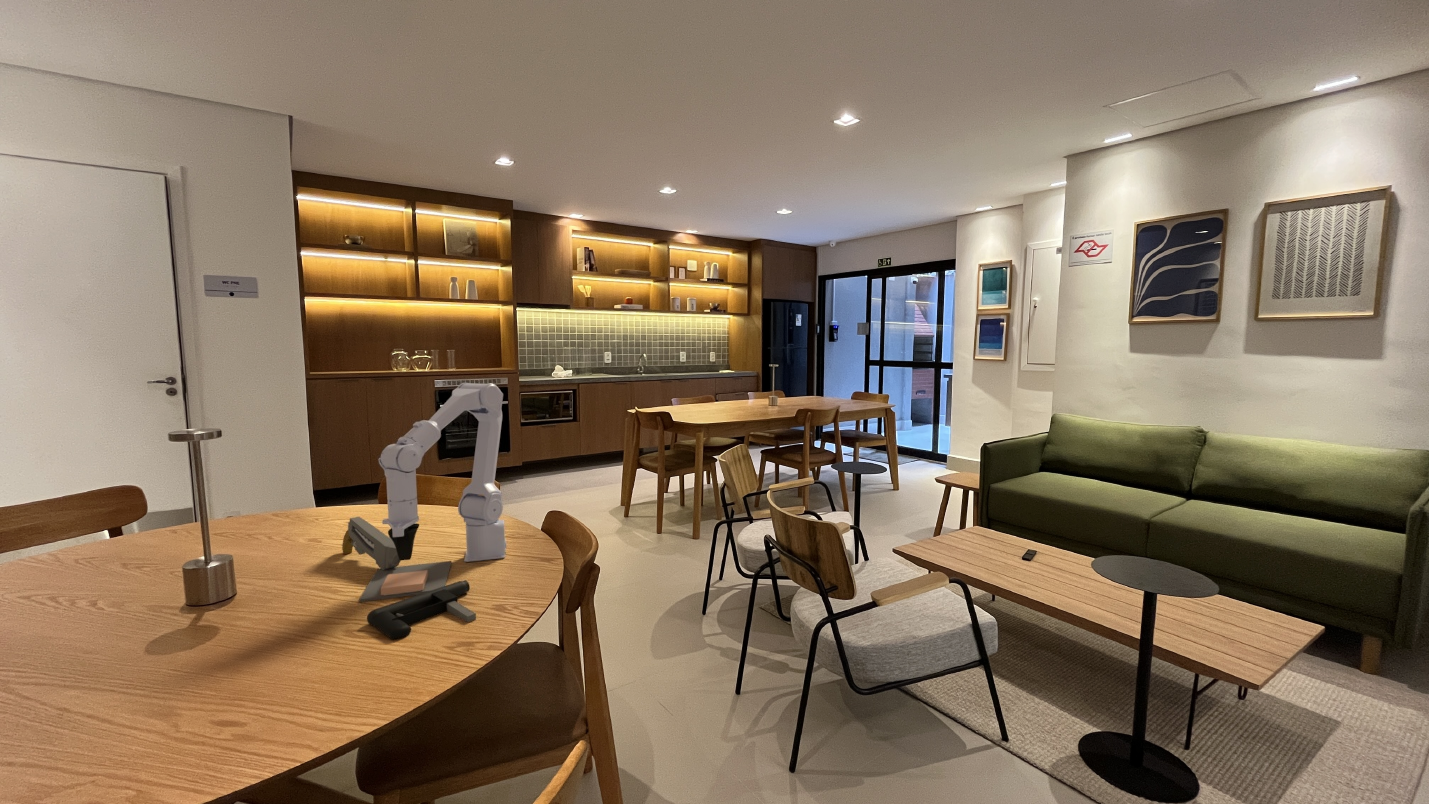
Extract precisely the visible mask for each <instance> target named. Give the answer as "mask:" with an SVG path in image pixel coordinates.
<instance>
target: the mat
mask: <svg viewBox="0 0 1429 804" xmlns="http://www.w3.org/2000/svg"><path fill="white" fill-rule="evenodd" d="M451 566H452V560H447V561H445V560H444V561H437V562H428V563H420V564H413V565H412V564H409V565H408V564H407V565H401V566H400V565H398V566H397V567H393V568H390V569H386V570H381V568H377V569H376V571H375V573H374V574H373V576H372V578H371V579H370V581H369V582H368V585H367V586H366V587H365V589H364V591H363V592H362V594H361V596H360V597H359V600H358V601H359V603H365V602H373V601H380V600H387V599H388V600H389V599H395V598H404V597H413V596H416V595H419V594H422V593H425V592H428V591H431V590H434V589H437V588H440V587H443V586H446V584H447V580H448V576H449V574H450V570H451ZM424 570H428V578H427V581H426V583H425V586H424V589H423V590H422V591H417V592H409V593H401V594H393V595H385V596H384V595H381V587H382V585H383V583H384V581H385V579H386V578H387V576H388V575H389V574H398V573H407V572H415V571H424Z"/></svg>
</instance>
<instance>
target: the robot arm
mask: <svg viewBox="0 0 1429 804" xmlns="http://www.w3.org/2000/svg"><path fill="white" fill-rule="evenodd" d="M503 399H504V393H503V392H502V391H501V389H500V388H499V387H498V386H497V384H495V383H491V382H490V383H473V382H472V383H470V382H461V383H460V384H459V385H458V386H457V387H456V388H455V389H453V390H452V392H451V395H450V397H449V398H448V399H447V400H446V402H444V404H442V406H441V407H440V408H438V410H437V411H436V412H435V413H434V414H433V415H432V416H431V417H430V418H429V420H425V419H423V420H420V421H415V422H414V423H413V424H412V428H411V429H410V430H409V431H408V432H407V433H405V435H403V436H400V437H399V438H398V439H397V441H396V443H392V444H389V445H387V446H385V448H384V449H383V450H382V451H381V453H380V457H379V458H378V459H377V460H378V463H379V466H380V467H381V468H382V469H383V471H384V476H385V478H386V479H385V480H386V496H387V515H388V516H387V517H388V518H383V520H382V521H381V523H382V525H388V526H389V528H390V529H388V530H387V534H388V535H387V536H388V537H390V538H391V539H392V541H393V543H394V545H395V547H396V550H397V554H398V557H399V560H400V562H401V561H402V562H403V561H410V560H411V559H412V555H413V550H414V543H415V539H416V535H417V532H418V529H419V527H420V524H419V523H418V522H419V520H420V516H419V513H418V512H419V511H418V492H417V490H418V489H417V473H416V472H417V470H416V469H418V468H419V467H420V466H421V464H422V460H423V457H424V456H425V453H427V451H429V449H431V448H432V447H433V445H434V444H436V443H437V442H438V441H439V440H440V438H441V437H442V434H441V433H442V430H443V429H444V428H445V427H446V426H448V425H449V424H450V423H451V422H452V421H454V420H455V419H457V418H458V417H459V416H460V415H461V414H463V412H465V411H467V412H469V413H470V414H471V415H473V416H474V418H475V419H477V421H478V426H477V436H476V443H475V451H474V458H473V459H474V460H473V465H472V466H473V467H472V475H471V482H470V483H469V484H468V485H467V486H465V487H464V489H463V490H462V495H461V498H460V500H459V502H458V506H457V510H458V515H459V516H460V517H461V518H462V519H463V522H464V523H465V536H466V539H465V540H466V550H465V551H466V552H465V555H464V563H469V562H478V561H487V560H498V559H504V558H506V549H507V547H508V546H507V540H506V533H505V532H506V530H505V529H506V528H505V520H504V519H501V515H502V514H503V510H504V509H503V508H504V506H503V500H502V495H503V494H502V491H501V490H500V489H499V488H498V487H497V486H496V485H495V479H496V471H497V464H498V463H497V462H498V455H499V448H500V439H501V430H502V422H503V411H502V406H503Z"/></svg>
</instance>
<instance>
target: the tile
mask: <svg viewBox="0 0 1429 804" xmlns="http://www.w3.org/2000/svg"><path fill="white" fill-rule="evenodd" d="M427 578H428V570H424V571H415V572H407V573H398V574H389V575H388V576H387V578H386V579H385V581H384V583H383V585H382V587H381V595H384V596H385V595H393V594H401V593H409V592H417V591H422V590H423V589H424V586H425V583H426V581H427Z"/></svg>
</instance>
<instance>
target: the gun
mask: <svg viewBox="0 0 1429 804" xmlns="http://www.w3.org/2000/svg"><path fill="white" fill-rule="evenodd" d="M347 524H348V525H347V530H346V531H345V534H344V535H343V537H342V539H343V540H342V545H341V546H342V547H341V550H342V555H347V554H351V553H352V552H353V548H354V550H355V551H356V553H357V554H358V555H360V556H361V555H365V554H367V555H368V556H369V557H370V558H372V559H373V560H374V561H375V564H376V565H377V566H378V567H379V569H381V570H386V569H390V568H393V567H399V566H400V563H401V561H400V560H399V557H398V554H397V550H396V547H395V545H394V543H393V541H392V539H391V538H390V537H389V535H387V534H385V533H383V531H381V530H379V529H378V528H377V527H376V526H374V525H372V524H371V523H370V522H369V521H366V520H365V519H364V518H362V517H360V516H355V517H350V518H349V521H348V523H347Z"/></svg>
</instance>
